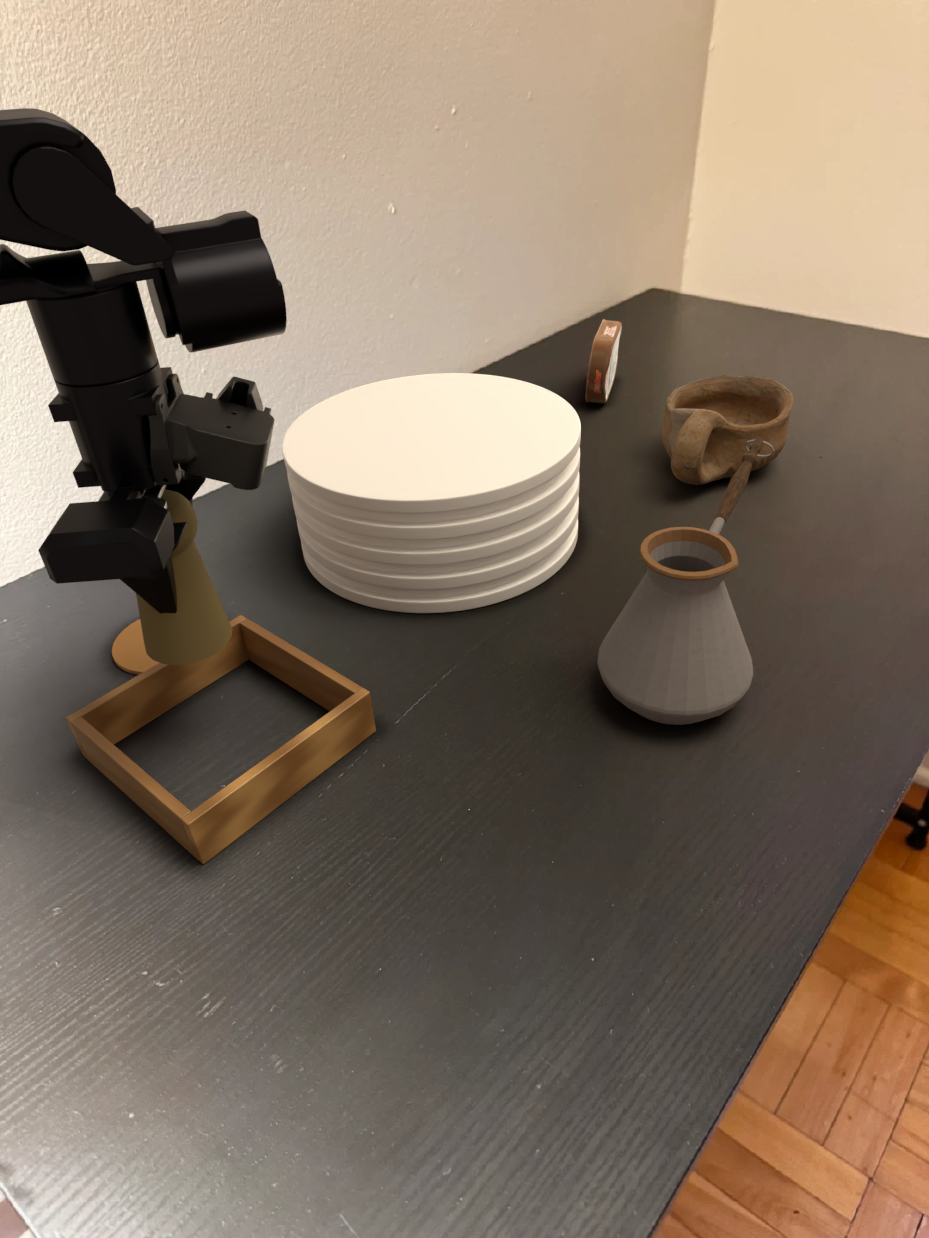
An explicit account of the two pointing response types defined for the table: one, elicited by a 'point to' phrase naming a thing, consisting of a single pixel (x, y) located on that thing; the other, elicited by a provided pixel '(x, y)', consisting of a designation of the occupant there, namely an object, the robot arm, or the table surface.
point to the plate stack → (435, 490)
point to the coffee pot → (682, 623)
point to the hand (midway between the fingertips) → (177, 593)
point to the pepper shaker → (185, 602)
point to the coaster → (132, 650)
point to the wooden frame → (257, 786)
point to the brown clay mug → (723, 425)
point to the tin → (603, 361)
